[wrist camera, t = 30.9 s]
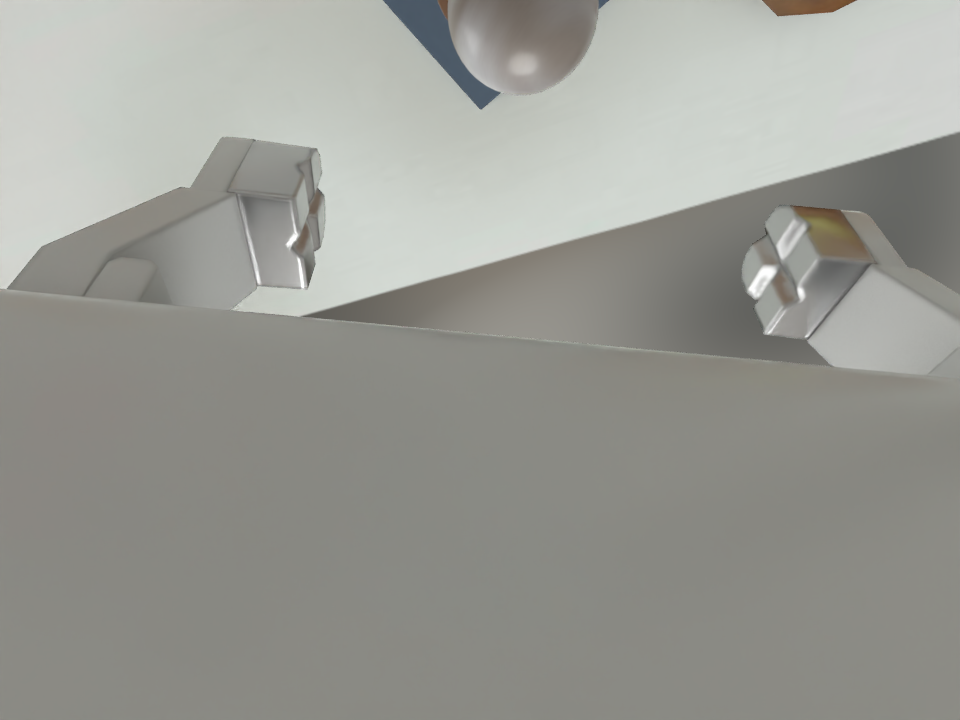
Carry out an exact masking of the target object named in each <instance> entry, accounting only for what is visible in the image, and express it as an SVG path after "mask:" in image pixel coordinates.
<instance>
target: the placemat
mask: <svg viewBox="0 0 960 720" xmlns="http://www.w3.org/2000/svg"><path fill="white" fill-rule="evenodd" d="M383 1H384V2H385V3H386V4H387V5H388V6H389V8H390V9H391V10H392V11H393V12H394V13H395V14H396V15H397V17H398V18H399V19H400V20H401V21H402V22H403V23H404V24H405V26H406V27H407V28H408V29H409V30H410V31H411V32H412V33H413V34H414V36H415V37H416V38H417V39H418V40H419V41H420V42H421V43H422V45H423V46H424V47H425V48H426V49H427V50H428V51H429V52H430V54H431V55H432V56H433V57H434V58H435V59H436V60H437V61H438V63H439V64H440V65H441V66H442V67H443V68H444V69H445V70H446V72H447V73H448V74H449V75H450V76H451V77H452V78H453V79H454V81H455V82H456V83H457V84H458V85H459V86H460V87H461V88H462V90H463V91H464V92H465V93H466V94H467V95H468V96H469V97H470V99H471V100H472V101H473V102H474V103H475V104H476V105H477V106H478V108H479V109H482V108H484V107H485V106H486V105H487V104H488V103H489V102H491V101H492V100H493V99H494V98H495V97H496V96H498V95H499V94H500V93H501V92H498V91H496V90H493V89H491V88H489V87H487V86H486V85H484V84H483V83H482V82H480V81H479V80H478V79H476V78H475V77H474V76H473V75H472V74H471V73H470V72H469V70H468V69H467V68H466V66H465V65H464V64H463V62H462V61H461V59H460V57H459V56H458V54H457V52H456V49H455V47H454V44H453V42H452V38H451V34H450V30H449V24H448V20H447V19H446V17H445V16H444V14H443V12H442V10H441V8H440V6H439V4H438V1H437V0H383ZM608 1H609V0H599V7H598V9H599V8H601V7H602V6H603V5H604V4H605V3H606V2H608Z"/></svg>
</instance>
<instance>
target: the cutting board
mask: <svg viewBox="0 0 960 720" xmlns="http://www.w3.org/2000/svg"><path fill="white" fill-rule="evenodd" d="M762 1H763V2H764V3H765V4H766V5H767V6H768V7H769V8H770V9H771V10H772V11H773V12H774V13H775V14H776V15H777V16H788V15H801V14H815V13H828V12H834V11H836V10H838V9H840V8H842V7H844V6H846V5H848V4H850V3H852V2H854V1H856V0H762Z"/></svg>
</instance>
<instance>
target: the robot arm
mask: <svg viewBox="0 0 960 720" xmlns="http://www.w3.org/2000/svg"><path fill="white" fill-rule="evenodd" d="M321 175H322V168H321V160H320V154H319V152H318V149H317V148H310V147H303V146H295V145H288V144H281V143H274V142H267V141H259V140H257V141H256V140H254V139H246V138H236V137H222V138H221V139H220V140H219V142H218V143H217V145H216V146H215V148H214V150H213V151H212V153H211V155H210V156H209V158H208V159H207V161H206V163H205V164H204V166H203V168H202V169H201V171H200V172H199V174H198V176H197V177H196V179H195V181H194V182H193V184H192V185H191V187H190V188H185V187H179V188H177V189H175V190H172V191H170V192H168V193H165V194H163V195H161V196H158V197H156V198H154V199H151V200H149V201H147V202H144V203H142V204H140V205H137V206H135V207H133V208H130V209H128V210H126V211H123V212H121V213H119V214H116V215H114V216H112V217H109V218H107V219H105V220H102V221H100V222H98V223H95V224H93V225H91V226H88V227H86V228H84V229H81V230H79V231H77V232H74V233H72V234H70V235H67V236H65V237H63V238H60V239H58V240H56V241H53V242H51V243H49V244H46V245H44V246H42V247H41V248H40V249H39V250H38V251H37V253H36V254H35V255H34V256H33V258H32V259H31V260H30V261H29V262H28V264H27V265H26V266H25V267H24V269H23V270H22V271H21V272H20V273H19V275H18V276H17V277H16V278H15V280H14V281H13V282H12V283H11V284H10V286H9V287H8V288H7V289H0V720H960V295H959V294H957V293H956V292H954V291H952V290H951V289H949V288H947V287H946V286H944V285H942V284H941V283H939V282H937V281H936V280H934V279H932V278H931V277H929V276H927V275H926V274H924V273H922V272H921V271H919V270H917V269H914V268H908V267H907V266H906V264H905V263H904V262H903V260H902V259H901V258H900V256H899V255H898V254H897V252H896V251H895V250H894V248H893V247H892V246H891V244H890V243H889V241H888V240H887V239H886V237H885V236H884V235H883V233H882V232H881V231H880V229H879V228H878V227H877V225H876V224H875V223H874V221H873V220H872V219H871V217H870V216H869V215H868V214H865V213H863V212H861V211H847V210H835V209H825V208H814V207H803V206H792V205H779V206H778V207H777V208H776V209H775V210H774V211H773V212H772V213H771V214H770V216H769V217H768V219H767V221H766V222H765V224H764V225H765V230H766V235H765V236H764V237H762V238H760V239H759V240H757V241H756V242H754V243H753V244H752V245H751V247H750V249H749V251H748V252H747V254H746V256H745V258H744V262H743V267H742V272H741V274H742V283H743V286H744V288H745V291H746V292H747V293H748V294H749V295H750V296H752V297H753V298H754V299H755V300H757V303H756V305H755V307H754V308H753V309H754V312H755V314H756V316H757V318H758V321H759V323H760V325H761V328H762V330H763V332H764V334H766V335H774V336H783V337H791V338H799V339H807V340H808V341H807V342H808V343H809V344H810V345H811V346H812V347H813V348H814V349H815V350H816V351H817V352H818V353H819V354H820V355H821V356H822V357H823V358H824V359H825V360H827V362H829V364H830V365H832V366H833V367H832V366H820V365H809V364H799V363H789V362H778V361H767V360H756V359H746V358H735V357H724V356H714V355H713V356H712V355H703V354H692V353H681V352H671V351H660V350H649V349H638V348H628V347H617V346H606V345H596V344H585V343H574V342H563V341H553V340H542V339H532V338H521V337H510V336H500V335H489V334H478V333H468V332H456V331H446V330H436V329H424V328H414V327H403V326H392V325H382V324H370V323H360V322H350V321H339V320H328V319H318V318H307V317H297V316H286V315H275V314H265V313H254V312H243V311H232V310H231V309H232V308H233V307H235V306H236V305H237V304H238V303H240V302H241V301H242V300H243V299H245V298H246V297H247V296H248V295H249V294H251V293H252V292H253V291H254V290H256V289H257V286H265V287H279V288H292V289H306V290H307V289H308V286H309V283H310V280H311V277H312V273H313V270H314V267H315V257H314V251H316V250H318V249H319V248H320V247H321V244H322V240H323V237H324V228H325V198H324V195H323V194H322V192H321V191H320V190H319V189H318V188H317V187H318V184H319V181H320V178H321Z"/></svg>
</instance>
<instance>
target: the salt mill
mask: <svg viewBox="0 0 960 720" xmlns="http://www.w3.org/2000/svg"><path fill="white" fill-rule="evenodd" d="M437 1H438V4H439V6H440V8H441V10H442V12H443V14H444V16H445V17H446V19H447V20H448V24H449V30H450V34H451V38H452V42H453V44H454V47H455V49H456V52H457V54H458V56H459V57H460V59H461V61H462V62H463V64H464V65H465V66H466V68H467V69H468V70H469V72H470V73H471V74H472V75H473V76H474V77H475V78H476V79H478V80H479V81H480V82H482V83H483V84H484V85H486V86H487V87H489V88H491V89H493V90H496V91H498V92H501V93H505V94H510V95H531V94H535V93H539V92H543V91H545V90H547V89H549V88H551V87H554V86H555V85H557V84H558V83H560V82H561V81H563V80H564V79H565V78H566V77H567V76H568V75H570V74H571V73H572V72H573V70H574V69H575V68H576V67H577V66H578V64H579V63H580V62H581V60H582V59H583V57H584V56H585V54H586V52H587V50H588V48H589V46H590V44H591V41H592V38H593V36H594V33H595V29H596V24H597V19H598V7H599V0H437Z"/></svg>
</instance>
